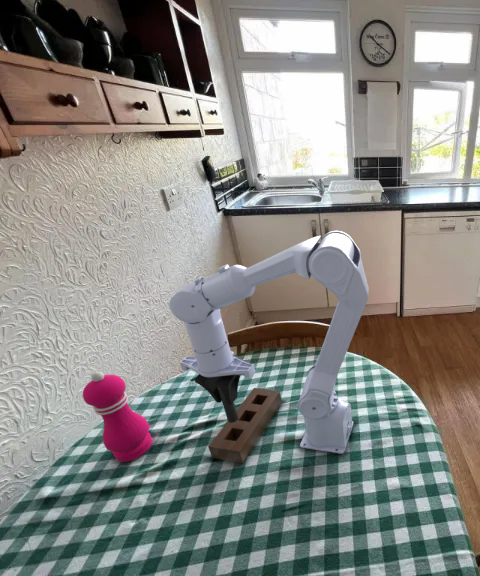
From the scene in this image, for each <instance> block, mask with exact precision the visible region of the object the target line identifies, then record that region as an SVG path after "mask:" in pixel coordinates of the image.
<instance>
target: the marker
mask: <svg viewBox="0 0 480 576" xmlns="http://www.w3.org/2000/svg"><path fill="white" fill-rule="evenodd" d="M217 389H218V392H219V395H220V398H221V400H222V401H221V402H222V403H221V404H222V406H223V410H224V412H225V416H226V419H227V422H229V423H233V422H235V421H237V420H238V414H237V411H236V410H237V407H236V405H235V401H234V402H233V404H228V403H227V401H226V399H225V396H224V394H223V392H222V391H221V389H220V388H219V387H217Z"/></svg>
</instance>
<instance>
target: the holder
mask: <svg viewBox="0 0 480 576" xmlns="http://www.w3.org/2000/svg"><path fill="white" fill-rule="evenodd" d="M282 402H283V400H282V396H281V391H280V390H275V389H268V388H267V389H266V388H259V387H254V388H252V390H251V391H250V392H249V393H248V395H247V396H246V397H245V398H244V399H243V401H242V402H241V403H240V404H239V406H238V407H237V408H236V411H237V414H238V420H237V421H235V422H233V423H229V422H228V421H226V423H224V426H222V428H221V429H220V430H219V432H218V433H217V434H216V435H215V437H214V438H213V440H212V441H211V442H210V443H209V444H208V445H207V448H208V450H209V452H210V455H211V458H212V459H215V460H220V461H225V462H230V463H231V462H232V463H236V464H237V463H238V464H244V462H245V461H246V460H247V457H248V456H249V455H250V453H251V452H252V450H253V448H254V447H255V445H256V443H257V442H258V441H259V439H260V437H261V436H262V434H263V433H264V431H265V430H266V427H267V426H268V425H269V424H270V422H271V420H272V418H273V417H274V415H275V413H276V412H277V410H278V409H279V407H280V406H281V404H282Z"/></svg>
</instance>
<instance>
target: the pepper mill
mask: <svg viewBox="0 0 480 576" xmlns="http://www.w3.org/2000/svg"><path fill="white" fill-rule="evenodd" d="M90 376H91V377H90V379H91V381H89V382H88V383H87V384H86V385H85V386H84V388H83V391H82V398H83V401H84V402H85V403H86V404H87V405H89V406H92V409H93V410H94V413H95V414H96V415H99V416H101V418H102V420H103V432H102V442H103V445H104V447H105V449H106V450H107V451H109V452H112V455H113V456H114V458H115V459H116V461H117V462H120V463H127V462H131V461H133V460H136V459H138V458H140V457H142V456H143V455H144V454H145V453H146V452H148V450H149V449H151V447H152V444H153V438H152V435H151V433H150V432H149V431H150V423H149V422H148V421H147V419H146V418H145V417H144V416H142V415H141V414H139V413H137V412H135V411H134V410H133V409H131V407H130V405H129V403H128V401H129V396H128V395H127V392H126V389H127V385H126V382H125V380H124V379H123V378H122V377H120V376H119V375H116V374H105V373H104V372H102V371H96V372H95V371H94V373H92V374H91V375H90Z"/></svg>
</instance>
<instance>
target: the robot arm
mask: <svg viewBox="0 0 480 576" xmlns="http://www.w3.org/2000/svg"><path fill="white" fill-rule="evenodd" d="M320 238H321V239H320ZM294 273H295V274H297V275H298V276H300V277H302V278H304V279H306V280H310V279H311V277H312V278H314V280H315V281H317V282H318V283H319V284H320V285H321V286H323V287H324V288H325V289H327V290H329V292H331V293H333V294H334V295H335V297H336V298H337V299H338V302H337V304H336V307H335V310H334V313H333V316H332V318H331V322H330V323H329V326H328V329H327V332H326V335H325V338H324V340H323V343H322V346H321V349H320V351H319V354H318V357H317V358H316V361H315V363H314V364H313V365H312V366H310V367H309V368H308V369H307V373H306V378H305V381H304V384H303V387H302V392H301V394H300V397H299V399H298V401H297V406H296V407H297V410H298V412H299V414H301V415H302V416H303V420H304V426H305V433H304V435H303V437H302V440H301V442H300V444H299V447H300V448H302V449H309V450H314V451H320V452H321V451H322V452H328V453H333V454H339V455H343V454H344V453H345V451H346V447H347V445H348V442H349V439H350V437H351V432H352V429H353V427H354V421H353V415H352V413H353V412H352V405H351V403H350V402H347V401H344V400H341V399H340V398H339V396H338V395H337V392H336V390H335V387H336V382H337V379H338V375H339V372H340V369H341V367H342V364H343V362H344V359H345V358H346V354H347V352H348V350H349V347H350V345H351V342H352V339H353V337H354V336H355V332H356V330H357V327H358V326H359V322H360V320H361V318H362V315H363V313H364V310H365V308H366V305H367V303H368V299H369V292H370V288H369V284H368V279H367V276H366V271H365V269H364V264H363V259H362V254H361V249H360V248H359V247H358V245H357V244H356V242H355V241H354V240H353V238H352V237H351V236H350V235H349V234H348V233H346V232H345V231H341V230H332V231H328V232H327V233H325V234H324V235H323V236H321V235H317V236H314V237H311V238H308V239H306V240H304V241H301V242H299V243H297V244H295V245H292V246H291V247H288V248H286V249H284V250H282V251H280V252H278V253H276V254H274V255H272V256H270V257H268V258H265V259H263V260H261V261H259V262H257V263H255V264H253V265H251V266H249V267H246V266H243V265H241V264H233V265H232V266H230V265H229V264H228V263H226V264H224V265H222V266H220V267H219V268H218V269H217V272H215V273H213V274H211V275H208V276H206V277H204V276H202V275H201V276H199V277H197V278H195V279H194V280H193V281H191V282H190V283H188V284H187V285H186V286H184V287H183V288H182V289H180V290H179V291H177V292H176V293H174V295H172V297H171V298H170V300H169V302H168V303H169V304H168V305H169V309H170V312H171V313H172V315H173V316H174V317H175V318H176V319H178V320H180V321H181V322H183V324H184V328H185V331H186V333H187V336H188V339H189V342H190V345H191V348H192V351H193V354H194V356H188V355H186V357H184V358H183V359H182V360H181V361H179V365H180V368H181V370H182V371H185V372H186V371H189V370H191V371H193V372H194V373H196V374H197V376H196V377H195V378H194V383H196V384H197V385H199V386H201V387H202V388H204V389H205V390H206V391H207V393H208V394H209V395H210V396H211V398H213V400H214V401H215V403H218V404H220V403H221V402H222V400H221V398H220V395H219V392H218V389H217V387H219V388H220V389H221V391H222V392H223V394H224V396H225V399H226V401H227V403H228V404H233V402H234V403H235V402H236V400H237V399H238V394H239V393H238V392H239V383H240V379H241V376H244V378H245V379H247V380H251V379H252V378H253V376H254V375H255V374H256V371H257V370H256V367H255V364H254V363H249V362H246V361H244V360H243V359H240V358H238V357H236V356H234V355H235V353H234V351H232V350H231V347H230V344H229V340H228V336H227V333H226V328H225V325H224V322H223V318H222V313H221V312H222V311H221V309H223V308H225V307H228V306H231V305H233V304H235V303H237V302H240V301H242V300H245V299H247V298H250V297H252V296H253V295H254V293H255V290H256V287H258V286H260V285H263V284H266V283H269V282H271V281H275V280H277V279H279V278H280V279H281V278H283V277H285V276H288V275H291V274H294Z"/></svg>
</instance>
